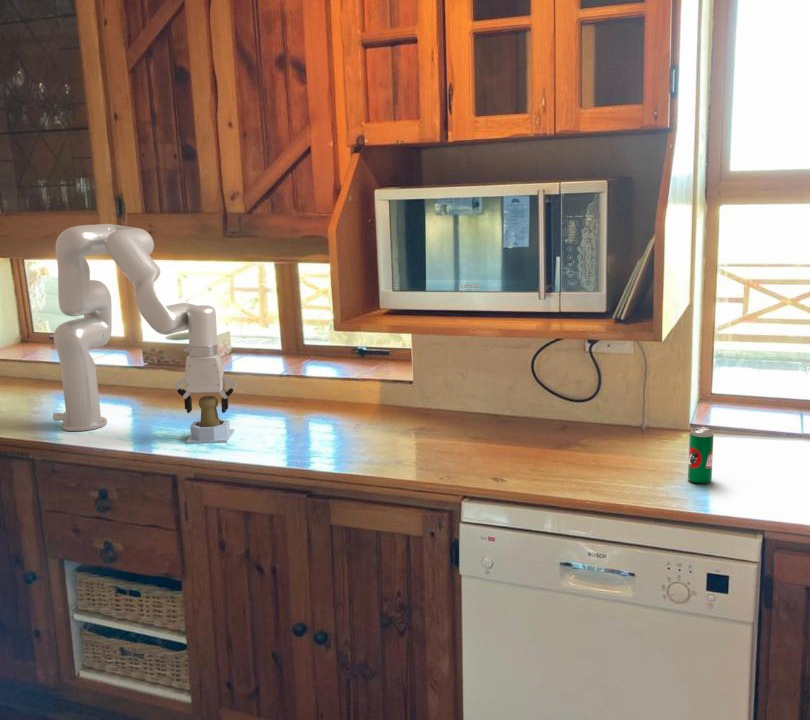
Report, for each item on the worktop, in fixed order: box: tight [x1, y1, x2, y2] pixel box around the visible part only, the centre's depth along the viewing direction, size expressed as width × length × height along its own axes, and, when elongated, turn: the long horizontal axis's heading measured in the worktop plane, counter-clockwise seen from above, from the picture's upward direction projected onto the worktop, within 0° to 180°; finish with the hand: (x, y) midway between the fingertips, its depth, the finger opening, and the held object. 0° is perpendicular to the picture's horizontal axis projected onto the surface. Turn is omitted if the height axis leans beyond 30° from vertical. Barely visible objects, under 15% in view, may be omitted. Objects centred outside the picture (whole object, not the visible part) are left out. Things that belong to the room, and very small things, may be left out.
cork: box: [198, 395, 220, 427], centre depth 237 cm, size 6×6×11 cm
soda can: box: [687, 426, 714, 485], centre depth 191 cm, size 5×5×12 cm
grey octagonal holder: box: [185, 417, 235, 445], centre depth 238 cm, size 11×11×4 cm
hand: (206, 411), depth 237 cm, fingers open, 9 cm apart
